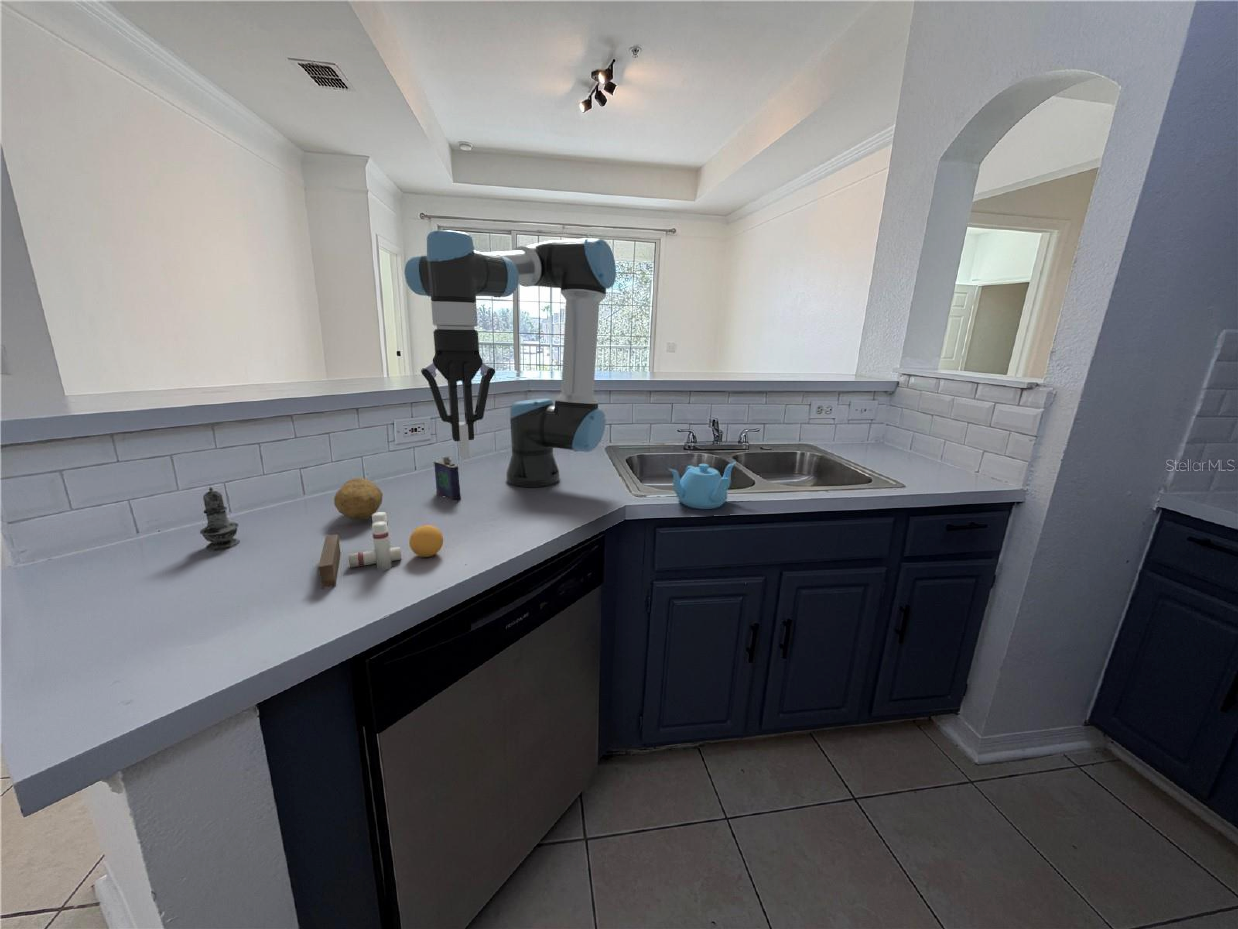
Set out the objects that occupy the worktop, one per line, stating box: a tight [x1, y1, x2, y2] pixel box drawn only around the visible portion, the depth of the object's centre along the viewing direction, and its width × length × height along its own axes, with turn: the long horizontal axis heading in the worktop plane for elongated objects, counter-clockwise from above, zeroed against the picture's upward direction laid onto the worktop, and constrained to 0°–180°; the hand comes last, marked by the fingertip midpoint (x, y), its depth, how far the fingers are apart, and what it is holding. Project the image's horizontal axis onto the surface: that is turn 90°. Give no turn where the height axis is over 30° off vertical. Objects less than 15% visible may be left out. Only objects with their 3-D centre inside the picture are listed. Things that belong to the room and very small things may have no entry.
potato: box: [333, 477, 383, 521], centre depth 109 cm, size 10×14×8 cm
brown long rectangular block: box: [318, 534, 342, 589], centre depth 86 cm, size 2×13×4 cm, turn 26°
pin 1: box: [371, 511, 391, 547], centre depth 91 cm, size 2×2×8 cm
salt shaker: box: [199, 486, 241, 552], centre depth 93 cm, size 6×6×12 cm
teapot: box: [668, 461, 737, 510], centre depth 124 cm, size 15×15×10 cm
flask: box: [433, 455, 462, 502], centre depth 123 cm, size 9×3×11 cm, turn 50°
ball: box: [409, 524, 444, 558], centre depth 92 cm, size 6×6×6 cm
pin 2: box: [371, 521, 393, 571], centre depth 87 cm, size 2×2×8 cm
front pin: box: [348, 546, 402, 568], centre depth 89 cm, size 2×2×8 cm
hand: (464, 456), depth 92 cm, fingers closed
